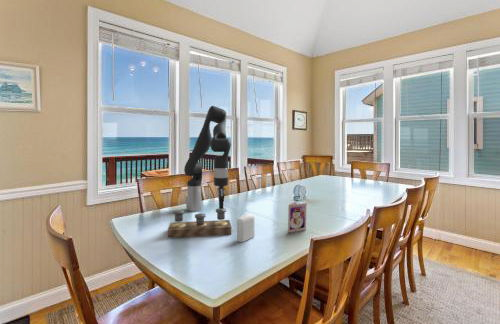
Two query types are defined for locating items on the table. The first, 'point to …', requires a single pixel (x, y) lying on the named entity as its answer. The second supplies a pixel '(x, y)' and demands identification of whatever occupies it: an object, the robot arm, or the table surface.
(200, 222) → the middle knob
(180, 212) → the left knob
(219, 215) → the right knob
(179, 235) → the mount board
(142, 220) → the table surface
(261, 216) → the table surface
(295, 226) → the greeting card
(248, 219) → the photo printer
